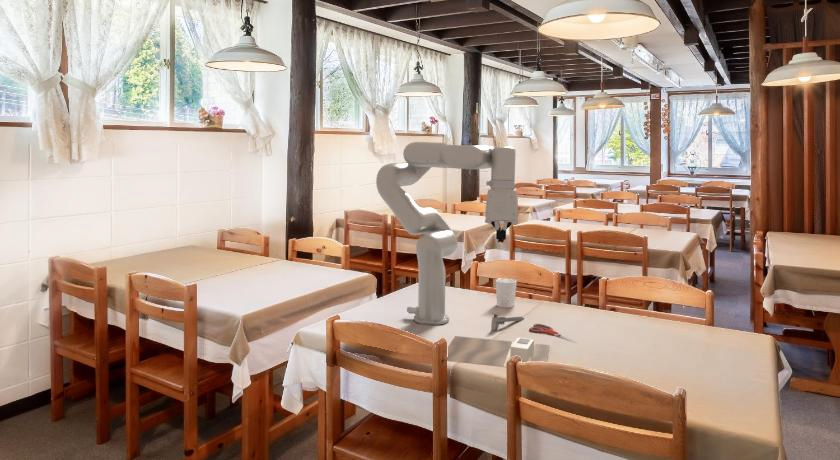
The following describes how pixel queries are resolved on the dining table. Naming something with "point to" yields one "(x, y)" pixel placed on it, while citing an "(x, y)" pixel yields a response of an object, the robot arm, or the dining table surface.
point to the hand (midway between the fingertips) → (500, 241)
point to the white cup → (505, 292)
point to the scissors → (546, 331)
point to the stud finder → (522, 348)
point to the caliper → (502, 321)
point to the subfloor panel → (488, 351)
